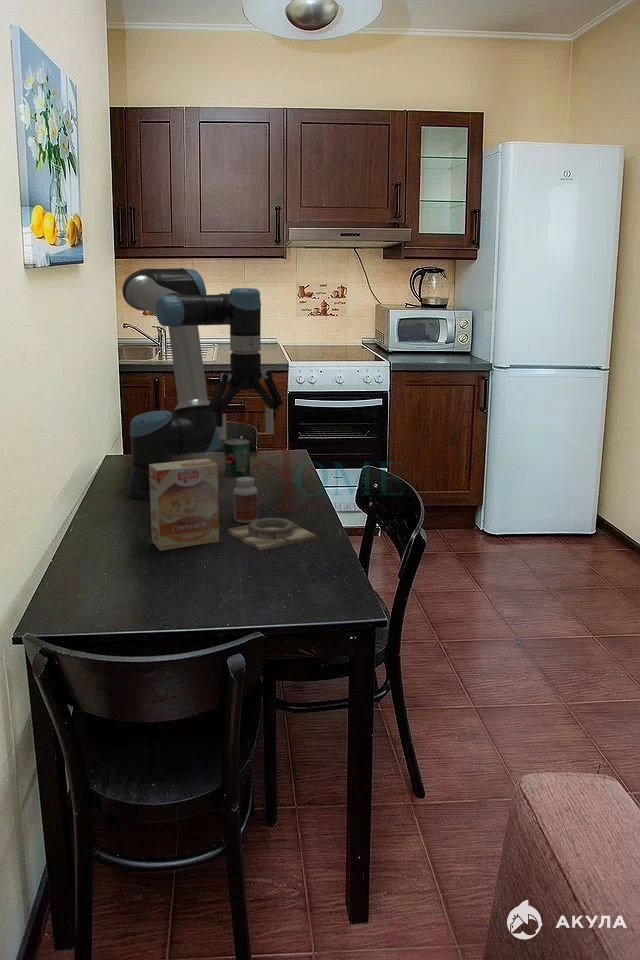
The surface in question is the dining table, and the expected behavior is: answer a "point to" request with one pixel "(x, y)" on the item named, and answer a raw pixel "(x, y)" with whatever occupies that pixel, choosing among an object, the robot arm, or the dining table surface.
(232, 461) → the canned tomato
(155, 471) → the coffeecake box
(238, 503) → the pill bottle
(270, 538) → the socket
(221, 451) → the dining table surface
